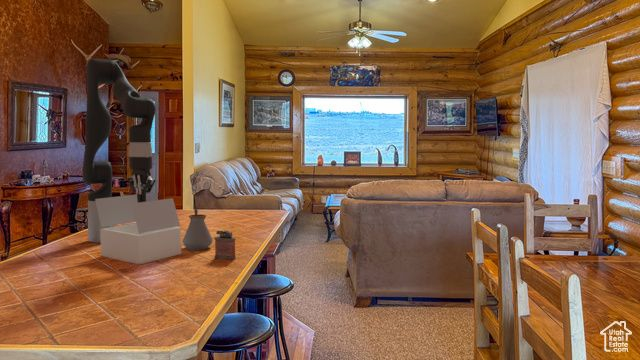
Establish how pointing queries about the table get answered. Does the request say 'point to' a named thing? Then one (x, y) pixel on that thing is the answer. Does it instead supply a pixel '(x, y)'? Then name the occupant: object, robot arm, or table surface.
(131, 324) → the table surface
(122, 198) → the flap
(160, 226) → the flap
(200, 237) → the coffee pot
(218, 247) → the lighter
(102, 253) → the carton
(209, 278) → the table surface
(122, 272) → the table surface
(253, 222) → the table surface
